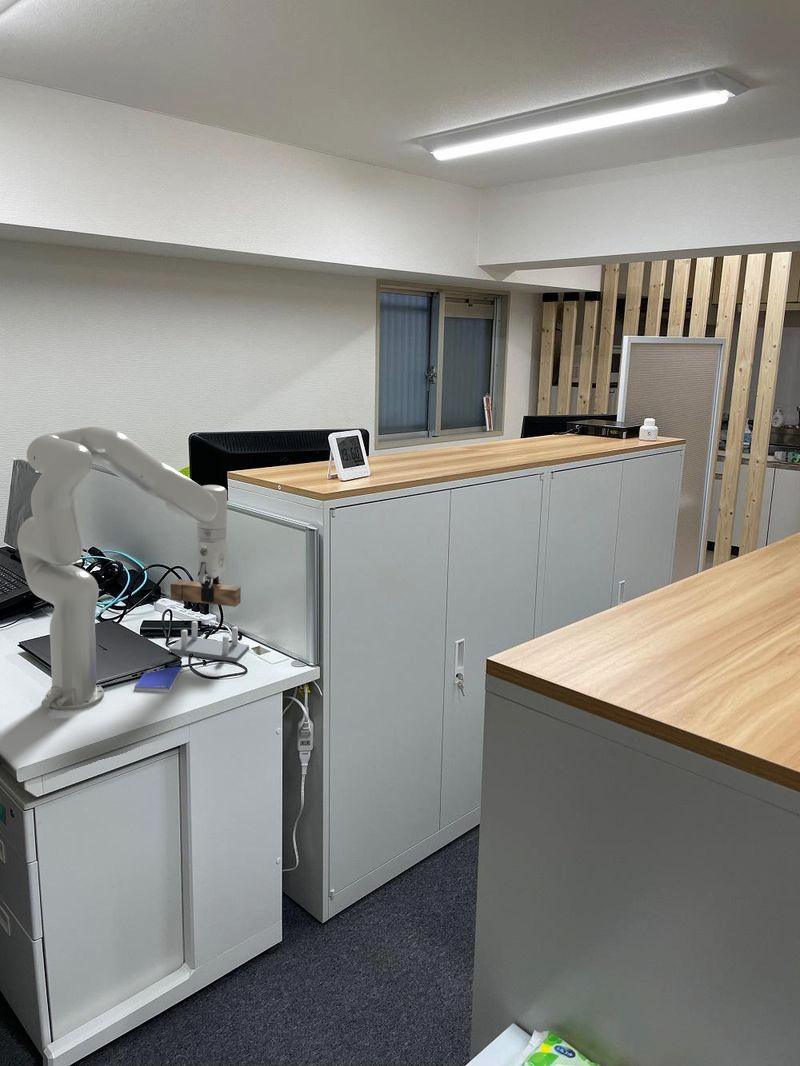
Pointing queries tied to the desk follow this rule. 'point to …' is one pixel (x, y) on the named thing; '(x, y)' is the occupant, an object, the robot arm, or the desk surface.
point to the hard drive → (158, 680)
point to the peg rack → (210, 646)
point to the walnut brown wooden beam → (192, 593)
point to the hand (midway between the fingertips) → (210, 598)
